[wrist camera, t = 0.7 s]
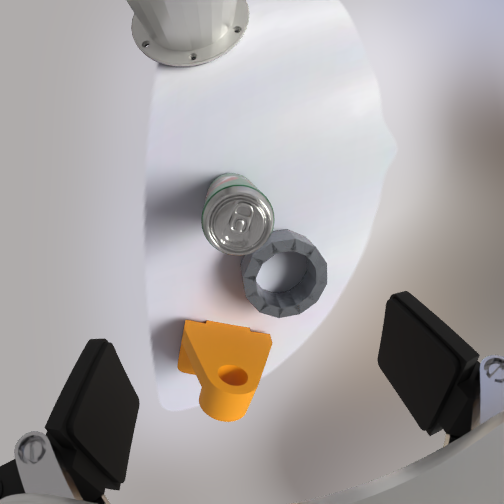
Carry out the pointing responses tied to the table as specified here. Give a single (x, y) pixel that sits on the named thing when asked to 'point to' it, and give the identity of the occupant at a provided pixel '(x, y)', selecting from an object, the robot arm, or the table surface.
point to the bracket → (224, 365)
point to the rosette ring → (300, 294)
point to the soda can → (236, 215)
